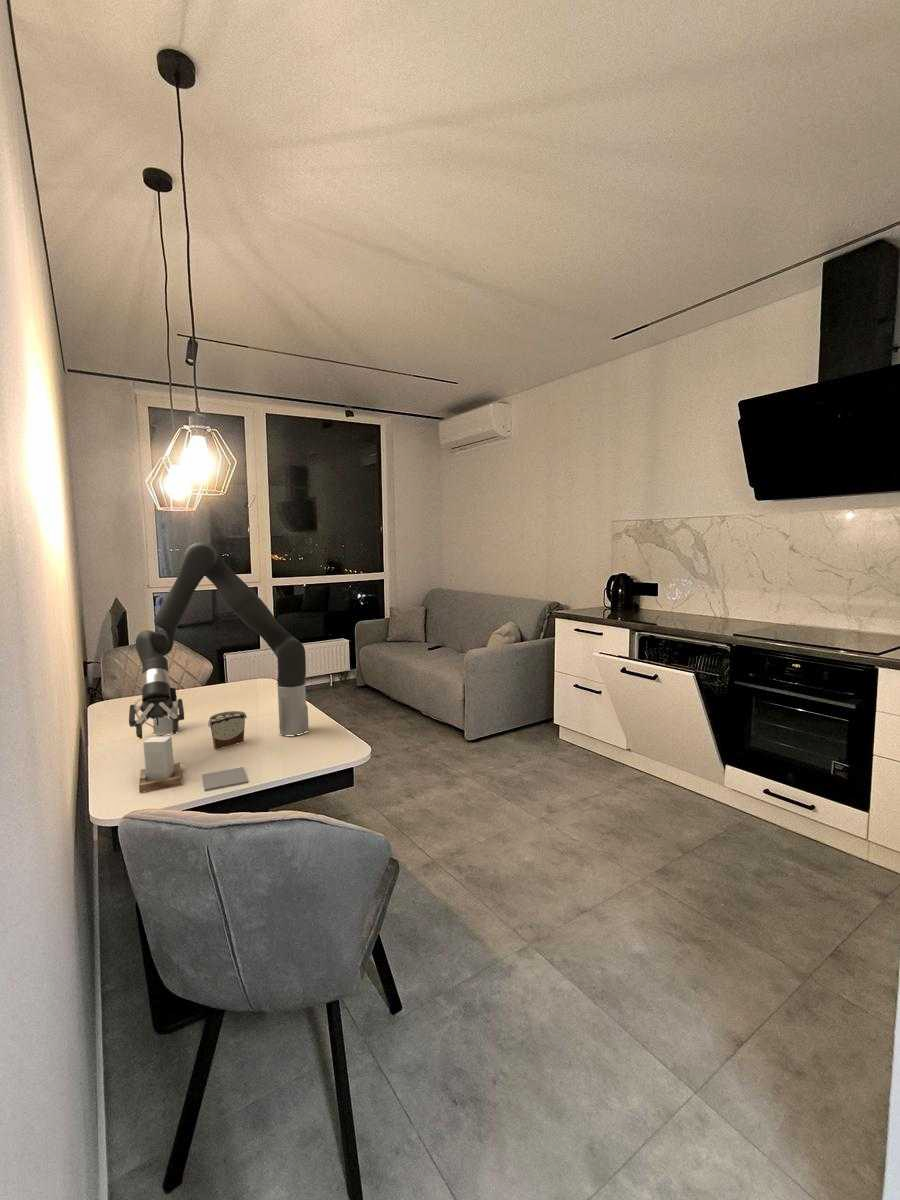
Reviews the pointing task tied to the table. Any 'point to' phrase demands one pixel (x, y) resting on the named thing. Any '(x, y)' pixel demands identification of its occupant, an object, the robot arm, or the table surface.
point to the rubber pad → (224, 778)
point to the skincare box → (158, 758)
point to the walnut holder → (162, 782)
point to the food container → (227, 728)
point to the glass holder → (164, 718)
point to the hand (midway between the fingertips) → (157, 735)
